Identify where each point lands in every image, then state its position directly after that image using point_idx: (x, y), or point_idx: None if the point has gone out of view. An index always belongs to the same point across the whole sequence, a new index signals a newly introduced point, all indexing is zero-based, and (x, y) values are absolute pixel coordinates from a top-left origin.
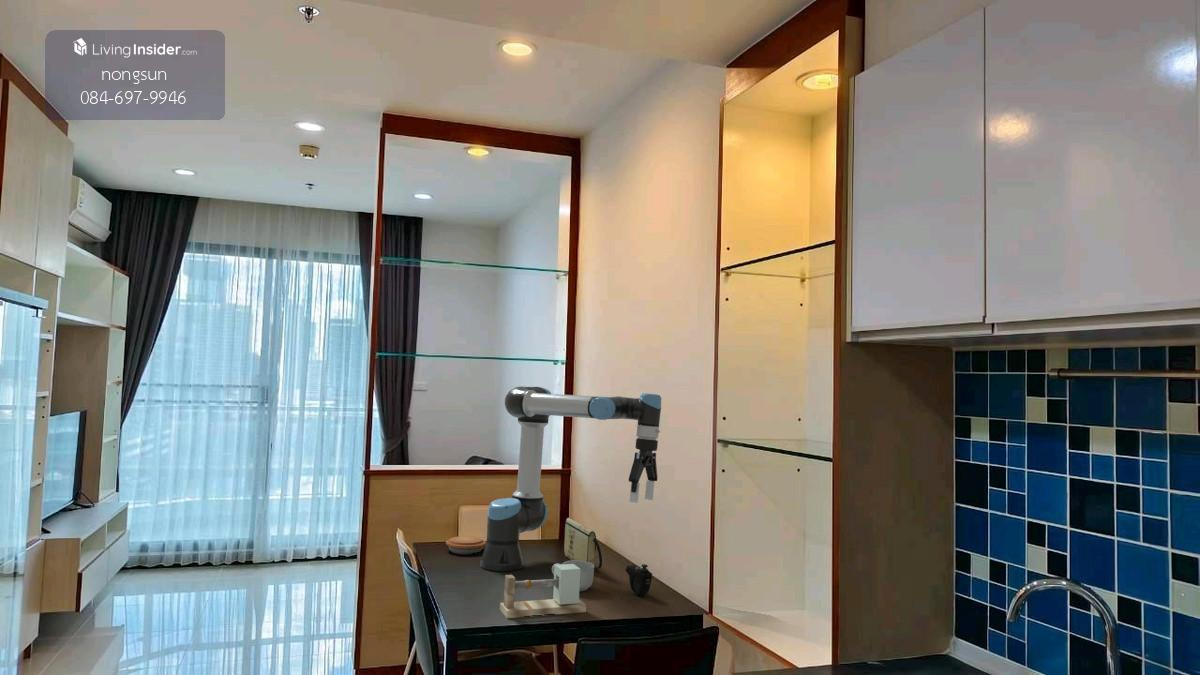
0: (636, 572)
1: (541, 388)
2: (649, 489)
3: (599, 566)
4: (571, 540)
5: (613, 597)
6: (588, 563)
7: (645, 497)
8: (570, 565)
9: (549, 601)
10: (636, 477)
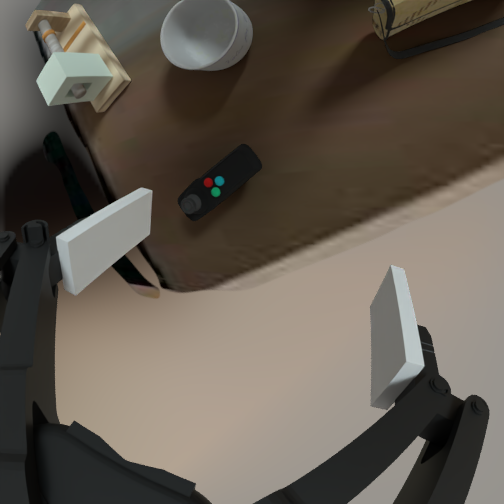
0: (193, 182)
1: None
2: (384, 332)
3: (399, 53)
4: None
5: (193, 128)
6: (230, 43)
7: (389, 274)
8: (57, 78)
9: (93, 53)
10: (8, 291)
